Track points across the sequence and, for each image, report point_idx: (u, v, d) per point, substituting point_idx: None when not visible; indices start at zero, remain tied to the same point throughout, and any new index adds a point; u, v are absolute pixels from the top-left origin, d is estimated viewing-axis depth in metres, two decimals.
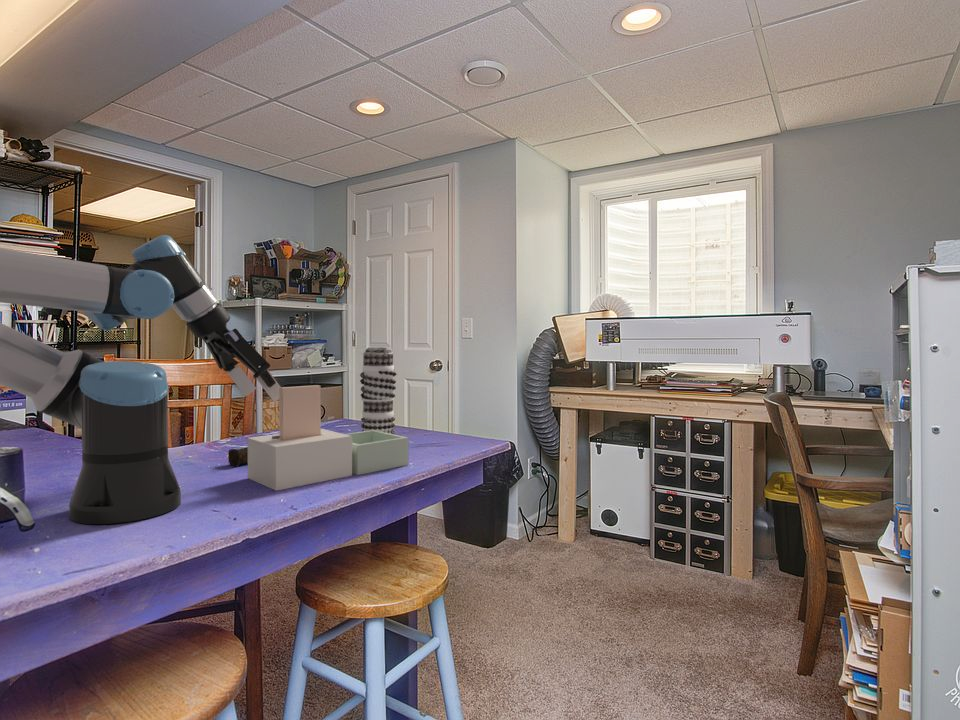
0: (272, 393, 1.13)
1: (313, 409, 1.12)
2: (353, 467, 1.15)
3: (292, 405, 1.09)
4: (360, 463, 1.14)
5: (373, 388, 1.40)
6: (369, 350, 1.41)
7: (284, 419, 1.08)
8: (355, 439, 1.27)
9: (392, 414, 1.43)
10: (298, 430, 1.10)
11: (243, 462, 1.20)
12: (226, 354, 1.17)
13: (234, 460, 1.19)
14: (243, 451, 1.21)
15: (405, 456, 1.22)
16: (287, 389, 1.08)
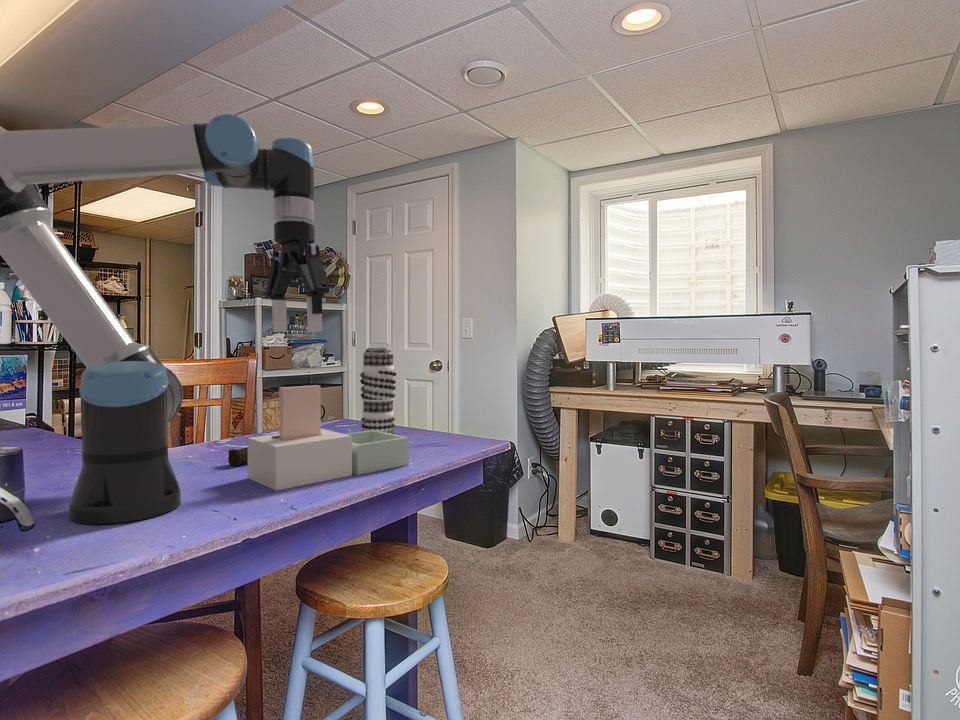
0: (311, 321, 1.05)
1: (313, 409, 1.12)
2: (353, 467, 1.15)
3: (292, 405, 1.09)
4: (360, 463, 1.14)
5: (373, 388, 1.40)
6: (369, 350, 1.41)
7: (284, 419, 1.08)
8: (355, 439, 1.27)
9: (392, 414, 1.43)
10: (298, 430, 1.10)
11: (243, 462, 1.20)
12: (285, 278, 1.13)
13: (234, 461, 1.19)
14: (243, 451, 1.21)
15: (405, 456, 1.22)
16: (287, 389, 1.08)
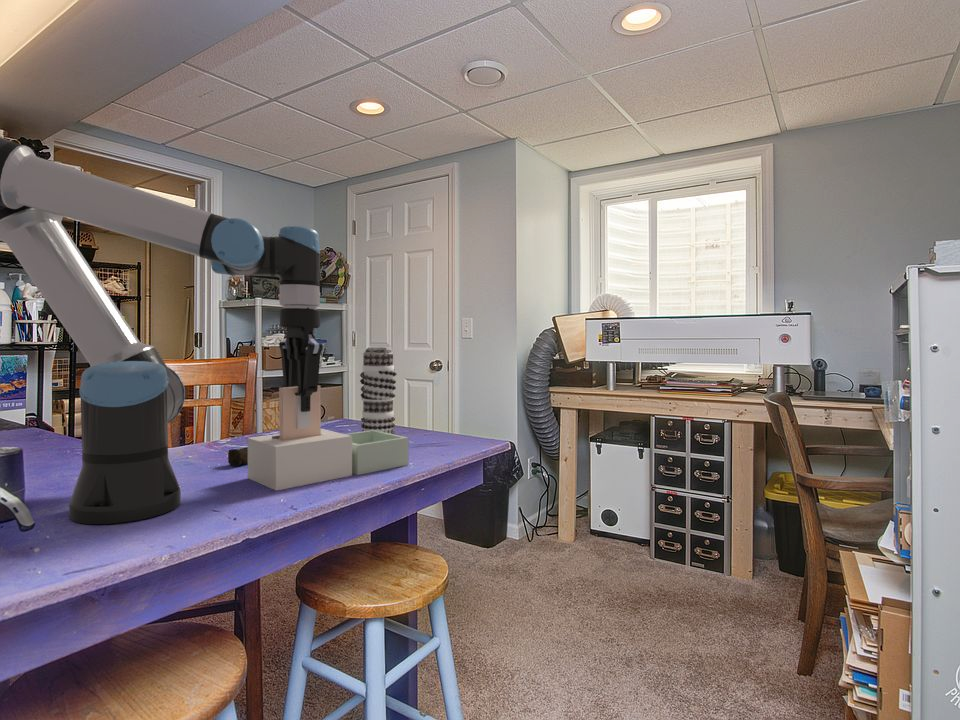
0: (300, 419, 1.10)
1: (313, 409, 1.12)
2: (353, 467, 1.15)
3: (292, 405, 1.09)
4: (360, 463, 1.14)
5: (373, 388, 1.40)
6: (369, 350, 1.41)
7: (284, 419, 1.08)
8: (355, 439, 1.27)
9: (392, 414, 1.43)
10: (298, 430, 1.10)
11: (244, 462, 1.20)
12: (297, 365, 1.11)
13: (235, 460, 1.19)
14: (244, 451, 1.21)
15: (405, 456, 1.22)
16: (287, 389, 1.08)
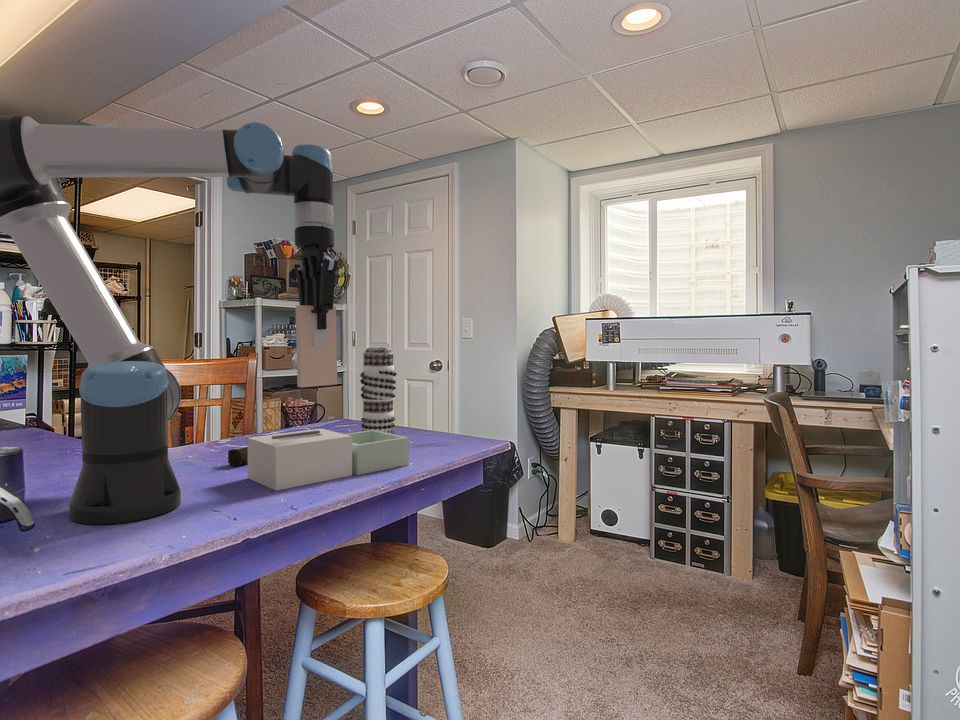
0: (316, 336, 1.11)
1: (329, 329, 1.14)
2: (353, 467, 1.15)
3: (308, 323, 1.10)
4: (360, 463, 1.14)
5: (373, 388, 1.40)
6: (369, 350, 1.41)
7: (301, 336, 1.09)
8: (355, 439, 1.27)
9: (392, 414, 1.43)
10: (315, 348, 1.12)
11: (244, 462, 1.20)
12: (312, 285, 1.13)
13: (236, 460, 1.19)
14: (244, 451, 1.21)
15: (405, 456, 1.22)
16: (303, 307, 1.10)
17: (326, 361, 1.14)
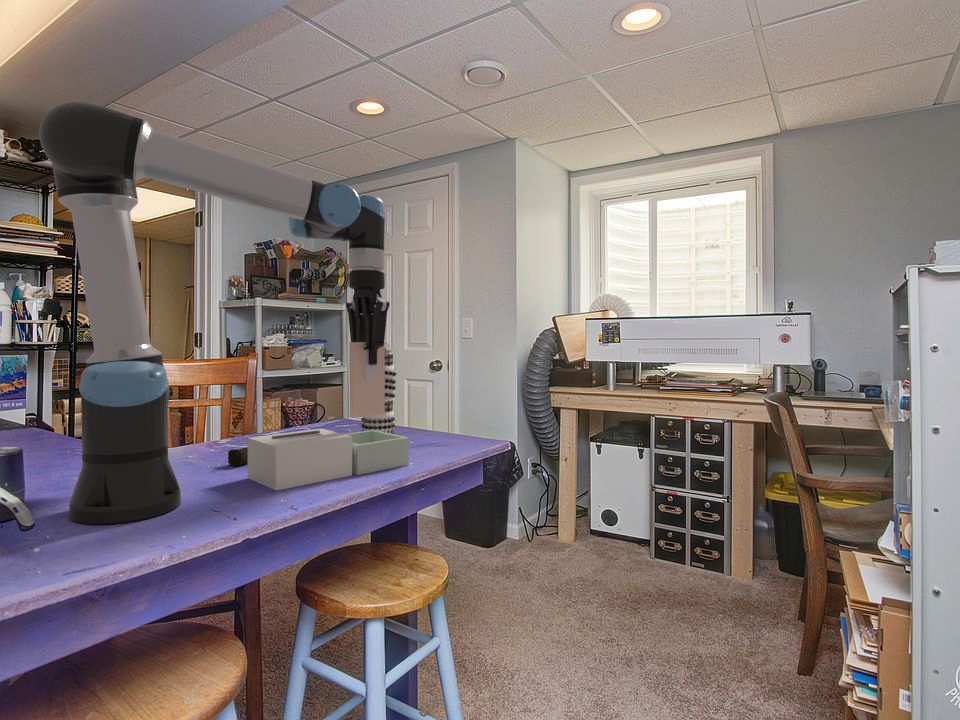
0: (368, 371, 1.20)
1: (378, 363, 1.23)
2: (353, 467, 1.15)
3: (361, 358, 1.20)
4: (360, 463, 1.14)
5: None
6: None
7: (354, 371, 1.19)
8: (355, 439, 1.27)
9: (392, 414, 1.43)
10: (366, 381, 1.21)
11: (245, 462, 1.20)
12: (364, 323, 1.22)
13: (236, 461, 1.19)
14: (244, 451, 1.21)
15: (405, 456, 1.22)
16: (357, 343, 1.19)
17: (375, 393, 1.23)
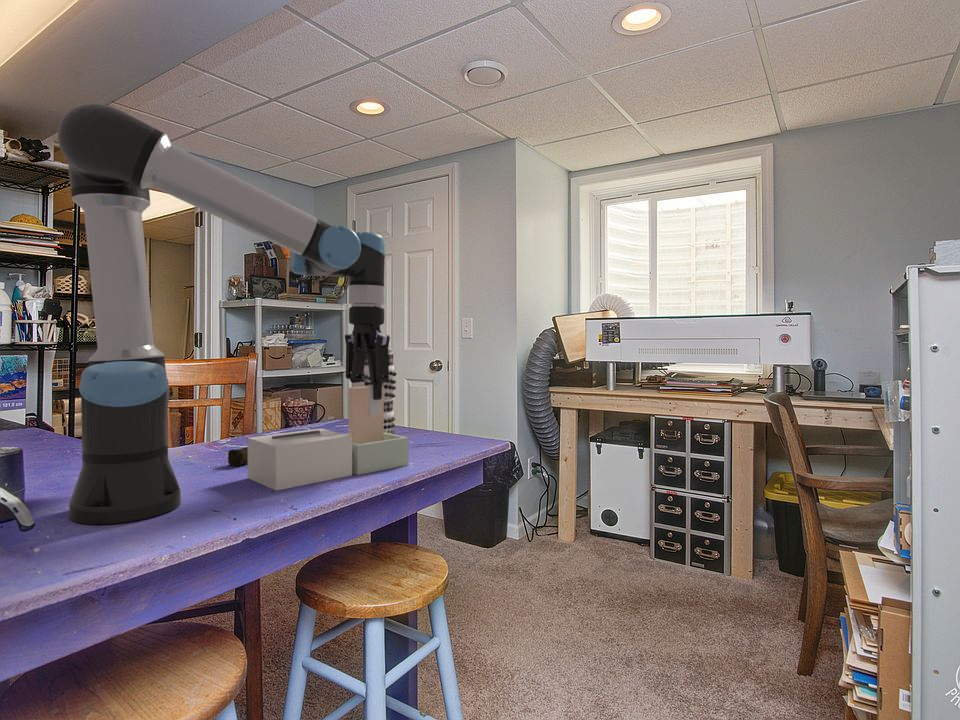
0: (372, 406, 1.19)
1: None
2: (353, 467, 1.15)
3: (360, 404, 1.20)
4: (360, 463, 1.14)
5: None
6: None
7: (353, 416, 1.19)
8: None
9: (392, 414, 1.43)
10: (365, 426, 1.21)
11: (245, 462, 1.21)
12: (361, 358, 1.23)
13: (236, 461, 1.19)
14: (244, 451, 1.21)
15: (405, 456, 1.22)
16: (356, 389, 1.19)
17: (374, 437, 1.23)
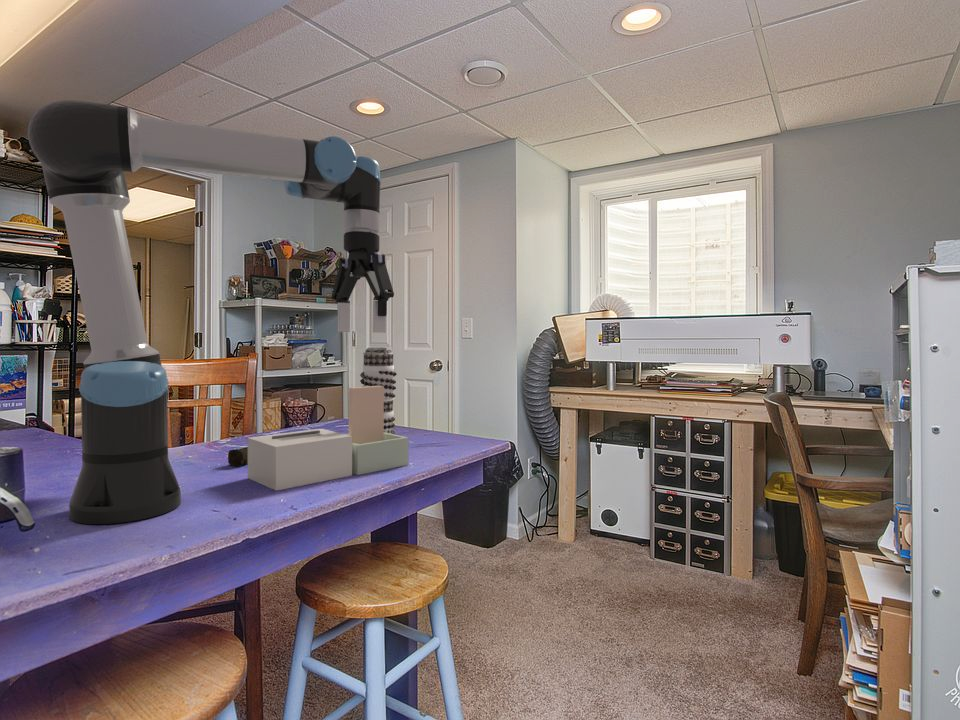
0: (377, 323, 1.16)
1: (377, 407, 1.23)
2: (353, 467, 1.15)
3: (360, 404, 1.20)
4: (360, 463, 1.14)
5: None
6: (369, 350, 1.41)
7: (353, 416, 1.19)
8: None
9: (392, 414, 1.43)
10: (365, 426, 1.21)
11: (245, 462, 1.21)
12: (350, 283, 1.24)
13: (237, 461, 1.19)
14: (245, 451, 1.21)
15: (405, 456, 1.22)
16: (356, 389, 1.19)
17: (374, 437, 1.23)
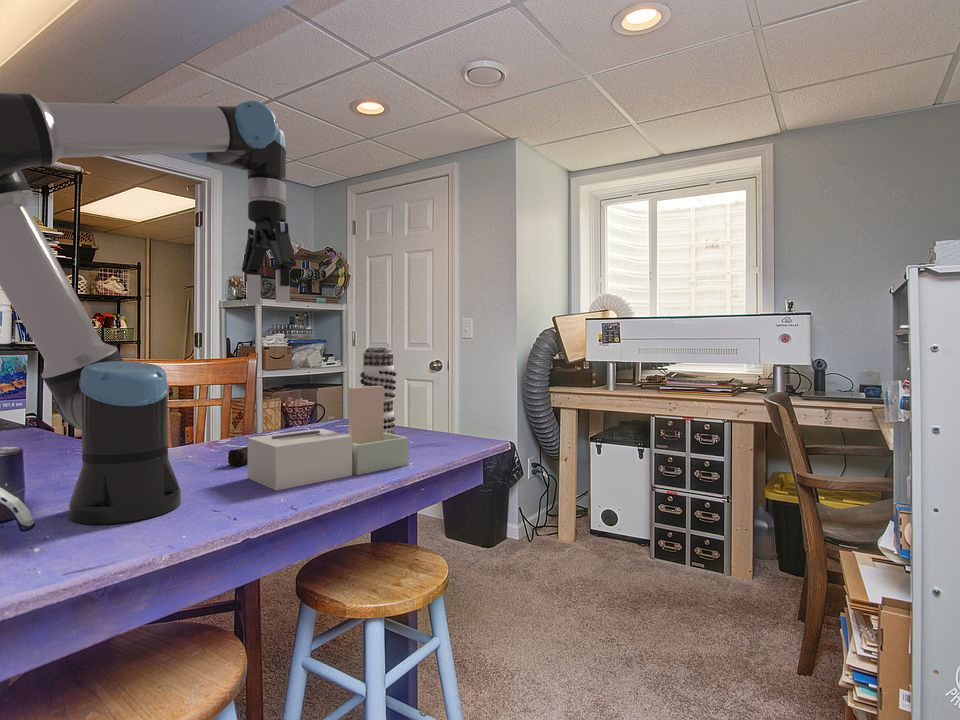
0: (279, 292, 1.14)
1: (377, 407, 1.23)
2: (353, 467, 1.15)
3: (360, 404, 1.20)
4: (360, 463, 1.14)
5: None
6: (369, 350, 1.40)
7: (353, 416, 1.19)
8: None
9: (392, 414, 1.43)
10: (365, 426, 1.21)
11: (246, 462, 1.21)
12: (258, 255, 1.22)
13: (237, 460, 1.19)
14: (245, 451, 1.21)
15: (405, 456, 1.22)
16: (356, 389, 1.19)
17: (374, 437, 1.23)
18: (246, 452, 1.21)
